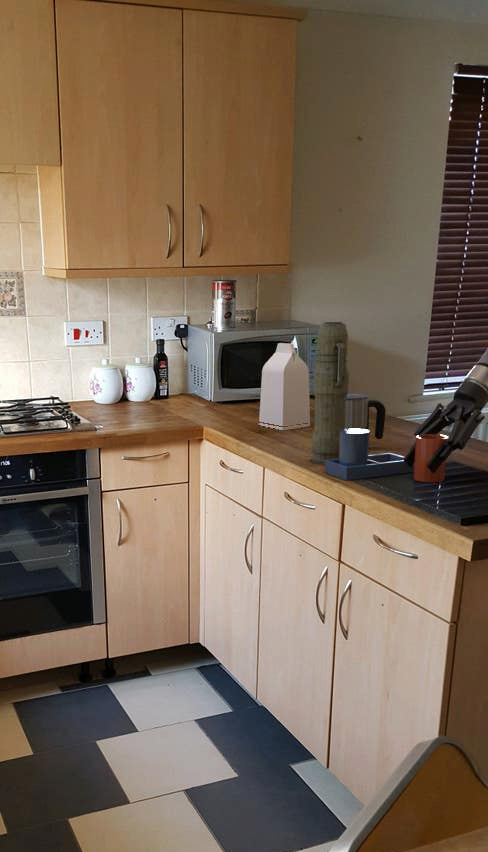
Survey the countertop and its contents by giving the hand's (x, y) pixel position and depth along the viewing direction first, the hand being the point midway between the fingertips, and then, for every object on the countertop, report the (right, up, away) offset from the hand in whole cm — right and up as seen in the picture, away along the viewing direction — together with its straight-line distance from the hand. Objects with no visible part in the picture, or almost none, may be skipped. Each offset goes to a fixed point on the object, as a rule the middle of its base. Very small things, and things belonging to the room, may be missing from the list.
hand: (418, 466), depth 204 cm
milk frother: (-6, +11, +44) cm, 46 cm away
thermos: (-16, +4, +26) cm, 31 cm away
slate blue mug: (-13, 0, +10) cm, 16 cm away
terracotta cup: (+3, -3, +3) cm, 5 cm away
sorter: (-9, 0, +11) cm, 15 cm away
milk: (-20, +23, +81) cm, 86 cm away
